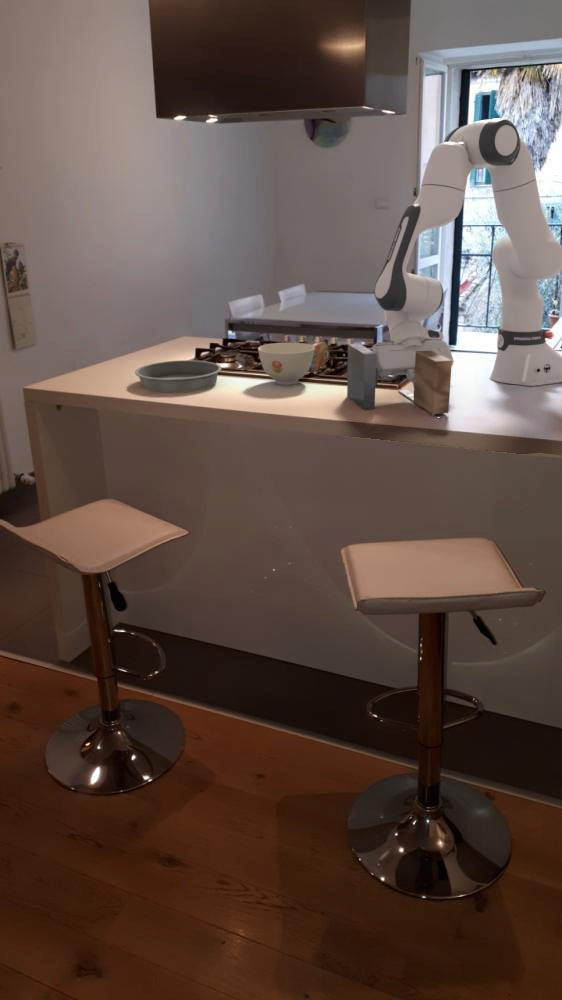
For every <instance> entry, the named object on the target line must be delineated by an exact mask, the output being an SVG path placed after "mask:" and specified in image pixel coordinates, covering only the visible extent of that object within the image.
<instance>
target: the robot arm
mask: <svg viewBox="0 0 562 1000" xmlns="http://www.w3.org/2000/svg"><path fill="white" fill-rule="evenodd" d="M443 140H444V141H443V142H441V143H439V144H437V145H435V147H434V148H432V150H431V153H430V155H429V158H428V161H427V163H426V167H425V169H424V173H423V177H422V180H421V186H420V190H419V194H418V196H417V197H416V199H415V201H414V202H413V203H412V204H410V205H408V206H407V207H406V209H405V210H404V212H403V214H402V216H401V218H400V221H399V224H398V226H397V229H396V232H395V233H394V237H393V240H392V242H391V246H390V248H389V252H388V254H387V257H386V259H385V260H386V261H385V263H384V266H383V268H382V270H381V272H380V274H379V275H378V278H377V280H376V282H375V284H374V285H375V286H374V290H373V291H374V297H375V301H376V302H377V304H378V306H380V308H381V309H382V310H383V314H384V320H385V323H386V325H387V327H388V330H389V331H388V333H389V334H388V336H389V338H390V341H384V342H376V343H375V344H373V345H372V346H371V351H373V352H375V353H376V367H378V374H377V375H379V376H380V377H387V376H403V375H406V379H408V381H410V382H411V383H412V387H413V388H414V378H415V357H416V351H426V350H431V351H433V352H435V353H437V354H440V355H442V356H444V357H446V358H448V359H450V360H452V366H451V368H452V367H453V365H454V357H453V354H452V351H451V349H450V347H449V345H448V343H446V341H444V340H443V339H444V334H443V332H442V331H439V330H435V329H431V328H427V327H424V326H423V325H422V322H423V321H426V320H427V319H429V318H430V317H431V316H433V315H434V314H435V313H437V311H438V310H440V308H441V307H442V305H443V302H444V289H443V286H442V284H441V281H439V279H436V278H433V277H430V276H429V277H428V276H425V275H418V274H414V273H410V272H407V266H408V264H409V261H410V258H411V255H412V252H413V250H414V246H415V244H416V241H417V239H418V237H419V236H420V235H421V234H423V233H425V232H426V231H429V230H432V229H437V228H441V227H445V226H448V225H449V224H450V223H452V222H453V221H454V220H455V219H456V218H457V217H458V216H459V215H460V212H461V210H462V208H463V204H464V199H465V195H466V189H467V185H468V183H467V182H468V178H469V175H470V173H471V172H472V171H473V170H483V169H485V168H486V169H487V171H488V173H489V175H490V182H491V187H492V194H493V198H494V199H493V200H494V204H495V205H494V206H495V210H496V215H497V219H498V222H499V223H500V224H501V226H502V227H503V228H504V229H505V231H506V234H507V236H505V237H503V238H500V239H499V240H498V241H497V242H496V243H495V245H494V247H493V249H492V252H491V259H492V262H493V265H494V267H495V269H496V270H497V276H498V280H499V284H500V285H499V286H500V292H501V314H500V326H499V328H498V331H497V332H498V333H497V334H498V335H497V339H496V340H497V343H496V345H497V347H496V348H497V352H496V356H495V360H494V365H493V368H492V371H491V374H490V377H489V378H490V379H491V380H492V381H496V382H499V383H503V384H511V385H512V384H513V385H521V386H528V387H535V386H542V385H551V384H556V383H557V384H559V383H562V354H560V353H559V352H557V351H556V350H555V349H554V348H553V347H552V346H550V345H549V344H548V343H547V340H546V339H548V340H552V339H553V338H554V337H555V334H554V332H553V331H549V330H547V331H546V330H544V329H542V327H543V325H542V324H543V315H544V305H545V302H544V298H543V296H542V295H541V292H540V290H539V287H538V286H539V285H538V281H543V280H548V279H552V278H555V277H556V276H557V275H559V273H560V272H561V271H562V245H561V244H560V243H559V242H558V241H557V239H556V238H555V236H554V234H553V232H552V231H551V228H550V225H549V223H548V220H547V218H546V217H545V214H544V211H543V207H542V204H541V199H540V194H539V188H538V182H537V177H536V173H535V167H534V163H533V159H532V157H531V153H530V151H529V148H528V146H527V144H526V142H525V141H523V140H522V139H521V138H520V133H519V131H518V129H517V127H516V125H515V124H514V123H513V122H512V121H511V120H508V119H506V118H502V117H501V118H500V117H499V118H498V117H497V118H492V119H482V120H477V121H474V122H472V123H468V124H465V125H460V126H458V127H456V128H454V129H453V130H451V131H450V132H449V133H448V134H447V135H446V137H445V139H443Z"/></svg>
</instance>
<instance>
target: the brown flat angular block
mask: <svg viewBox="0 0 562 1000" xmlns="http://www.w3.org/2000/svg"><path fill="white" fill-rule="evenodd" d="M451 366H452V367H453V365H452V360H450V359H448V358H446V357H444V356H442V355H440V354H437V353H435V352H433V351H431V350H426V351H416V357H415V374H414V376H415V378H414V387H413V394H414V400H413V401H414V402H416V403H417V404H419V405H420V406H422V407H423V408H425V409H426V410H428V411H429V412H431V413H432V414H442V413H443V414H449V410H450V395H451V380H452V379H451V378H452V367H451ZM413 401H412V402H413ZM414 402H413V403H414ZM416 403H415V404H416ZM417 404H416V405H417ZM419 405H418V406H419ZM420 406H419V407H420ZM422 407H421V408H422ZM423 408H422V409H423ZM425 409H424V410H425ZM426 410H425V411H426ZM428 411H427V412H428ZM429 412H428V413H429ZM431 413H430V414H431ZM432 414H431V415H432Z"/></svg>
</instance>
